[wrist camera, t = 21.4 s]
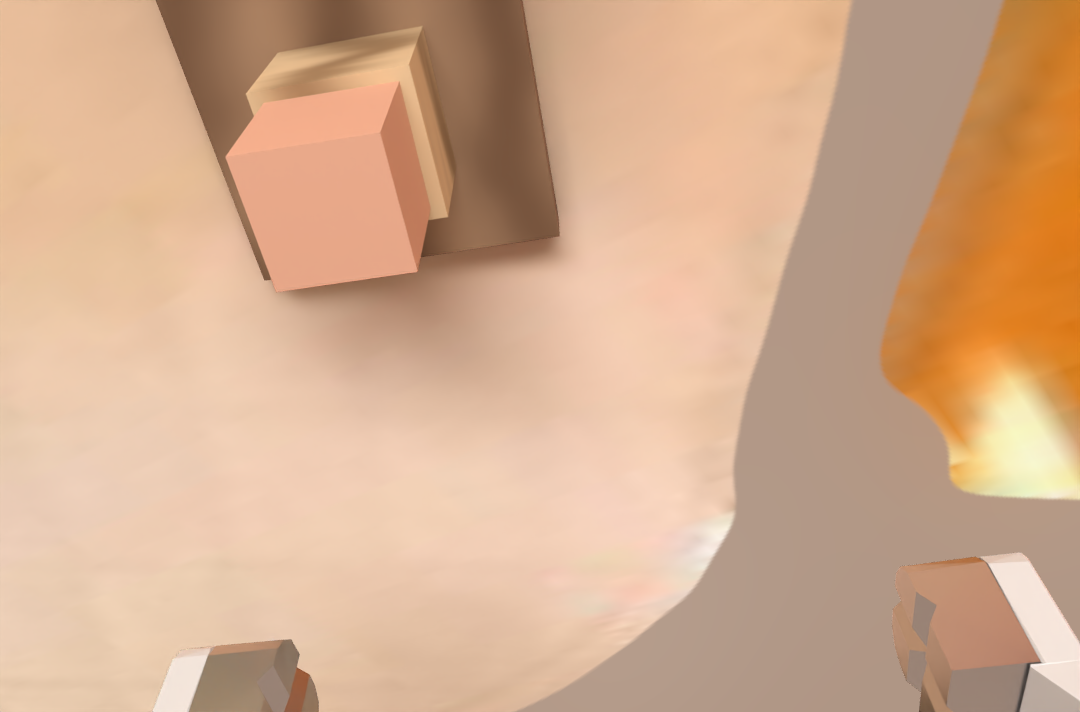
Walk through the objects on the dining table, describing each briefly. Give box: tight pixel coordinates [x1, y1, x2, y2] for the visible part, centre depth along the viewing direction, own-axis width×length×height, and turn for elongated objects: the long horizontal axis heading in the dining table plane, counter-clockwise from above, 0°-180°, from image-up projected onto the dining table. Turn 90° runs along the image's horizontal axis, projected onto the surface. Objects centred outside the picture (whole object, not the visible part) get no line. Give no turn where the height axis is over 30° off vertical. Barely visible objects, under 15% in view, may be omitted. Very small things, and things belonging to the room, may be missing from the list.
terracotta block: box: [226, 81, 431, 292], centre depth 32 cm, size 5×5×5 cm
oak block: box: [246, 26, 456, 220], centre depth 36 cm, size 6×6×5 cm
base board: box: [156, 0, 559, 280], centre depth 39 cm, size 14×14×2 cm
